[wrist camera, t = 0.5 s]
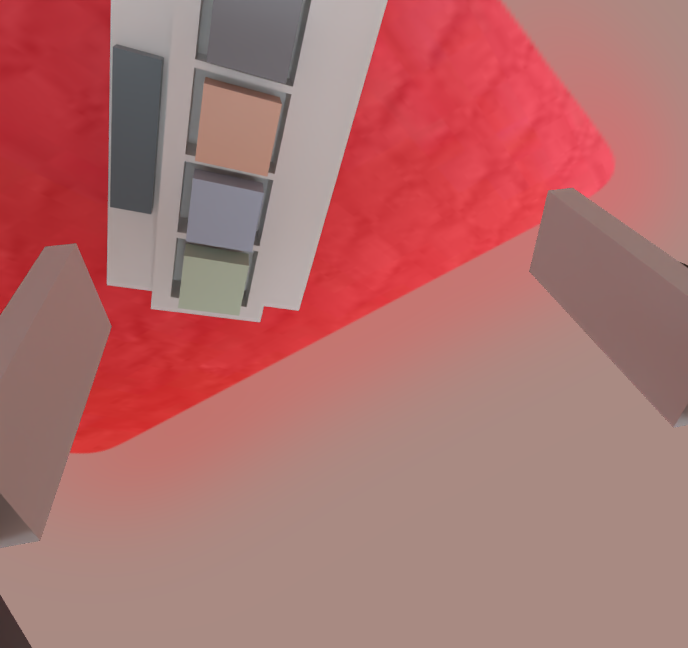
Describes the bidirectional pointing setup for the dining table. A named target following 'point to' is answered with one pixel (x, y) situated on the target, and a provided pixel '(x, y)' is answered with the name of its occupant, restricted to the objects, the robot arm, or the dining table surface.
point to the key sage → (213, 280)
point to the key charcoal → (254, 36)
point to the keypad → (179, 164)
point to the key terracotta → (237, 127)
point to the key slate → (224, 210)
